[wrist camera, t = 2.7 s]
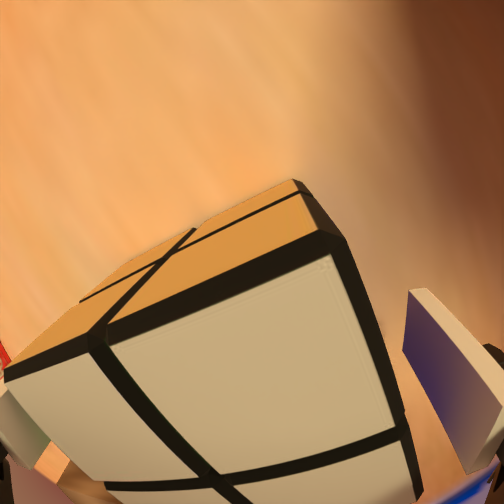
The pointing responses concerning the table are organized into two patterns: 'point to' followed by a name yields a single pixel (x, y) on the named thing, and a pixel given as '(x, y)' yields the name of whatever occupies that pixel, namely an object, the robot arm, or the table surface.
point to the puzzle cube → (228, 370)
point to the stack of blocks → (3, 360)
